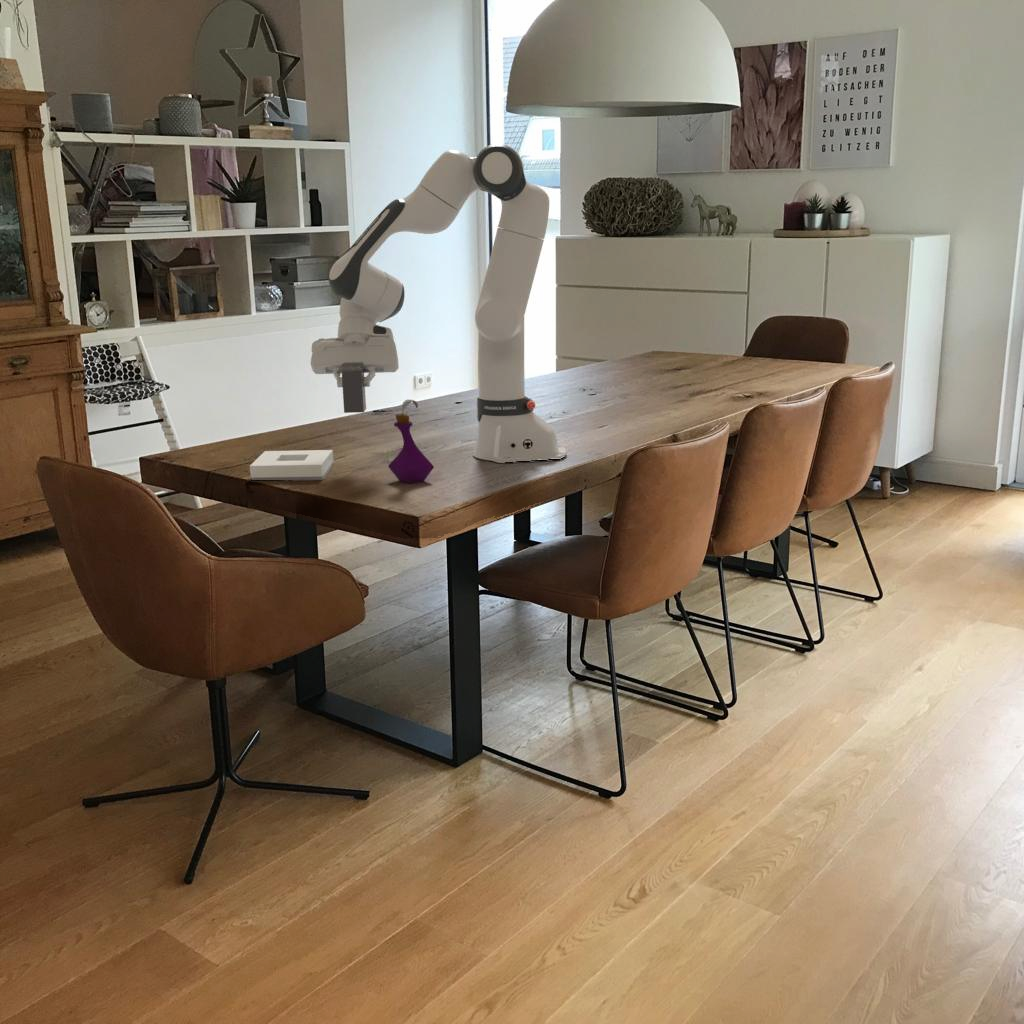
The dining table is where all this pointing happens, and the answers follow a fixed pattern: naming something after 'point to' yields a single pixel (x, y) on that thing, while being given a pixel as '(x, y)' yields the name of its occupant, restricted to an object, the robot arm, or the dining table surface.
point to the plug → (353, 387)
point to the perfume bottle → (409, 453)
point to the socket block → (292, 465)
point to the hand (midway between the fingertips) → (353, 385)
